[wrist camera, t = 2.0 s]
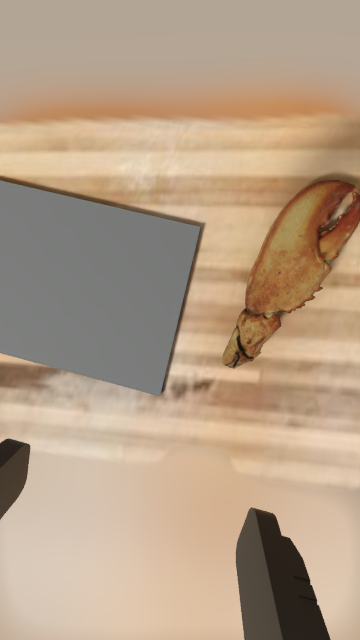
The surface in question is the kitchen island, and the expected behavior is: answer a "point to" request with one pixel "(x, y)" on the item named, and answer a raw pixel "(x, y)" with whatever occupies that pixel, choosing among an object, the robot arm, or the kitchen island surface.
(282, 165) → the kitchen island surface
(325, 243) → the crab claw
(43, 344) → the mat
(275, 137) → the kitchen island surface
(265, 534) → the robot arm
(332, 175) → the kitchen island surface
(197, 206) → the kitchen island surface
